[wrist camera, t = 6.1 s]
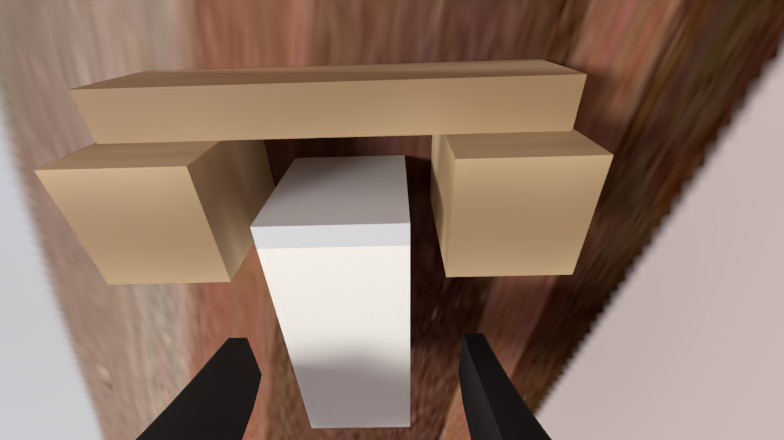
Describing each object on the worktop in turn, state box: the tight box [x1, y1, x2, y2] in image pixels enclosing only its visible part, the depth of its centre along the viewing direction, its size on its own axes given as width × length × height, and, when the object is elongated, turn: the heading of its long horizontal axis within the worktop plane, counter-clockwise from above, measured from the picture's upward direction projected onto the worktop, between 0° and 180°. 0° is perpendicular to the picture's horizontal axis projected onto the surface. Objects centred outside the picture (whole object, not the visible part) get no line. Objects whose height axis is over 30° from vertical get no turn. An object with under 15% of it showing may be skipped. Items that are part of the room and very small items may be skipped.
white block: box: [250, 155, 410, 428], centre depth 11 cm, size 9×4×4 cm, turn 2°
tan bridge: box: [34, 59, 614, 284], centre depth 9 cm, size 4×11×4 cm, turn 91°
